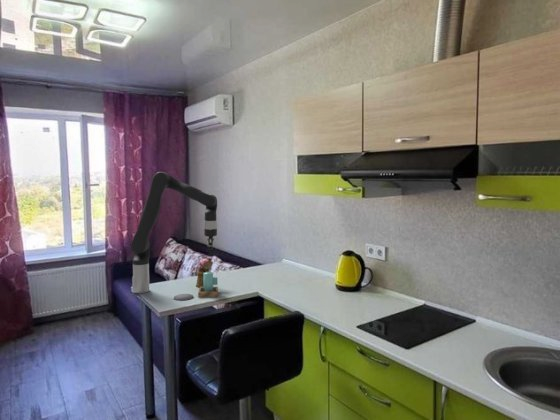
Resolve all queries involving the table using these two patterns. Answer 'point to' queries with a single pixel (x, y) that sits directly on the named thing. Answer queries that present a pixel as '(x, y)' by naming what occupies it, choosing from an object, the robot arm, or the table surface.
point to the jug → (209, 281)
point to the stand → (208, 294)
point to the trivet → (183, 297)
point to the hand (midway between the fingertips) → (210, 254)
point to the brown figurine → (200, 274)
